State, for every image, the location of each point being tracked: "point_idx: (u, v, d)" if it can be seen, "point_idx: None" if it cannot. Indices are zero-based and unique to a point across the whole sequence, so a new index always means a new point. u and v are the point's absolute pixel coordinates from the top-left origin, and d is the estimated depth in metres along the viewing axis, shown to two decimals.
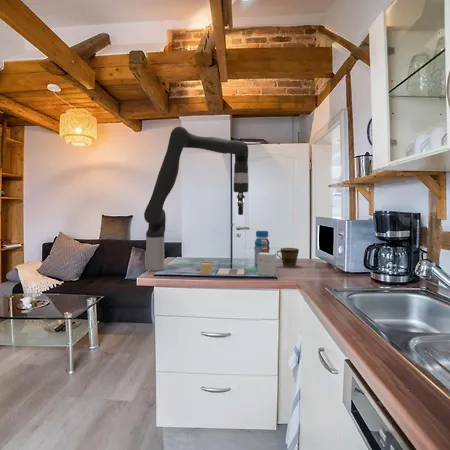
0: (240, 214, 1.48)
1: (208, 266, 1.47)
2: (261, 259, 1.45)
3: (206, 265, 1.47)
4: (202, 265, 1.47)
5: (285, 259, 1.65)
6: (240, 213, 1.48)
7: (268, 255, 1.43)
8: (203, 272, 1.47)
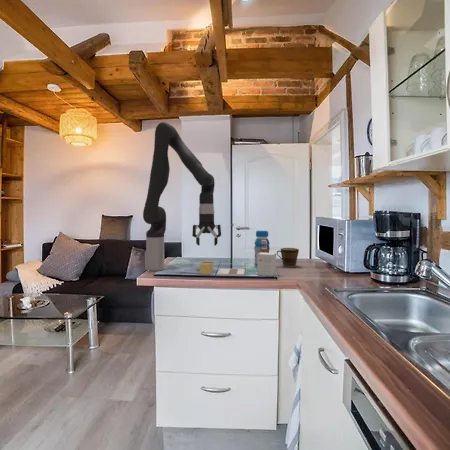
0: None
1: (207, 266, 1.47)
2: (261, 259, 1.45)
3: (205, 265, 1.47)
4: (201, 265, 1.47)
5: (285, 259, 1.65)
6: None
7: (268, 255, 1.43)
8: (202, 272, 1.47)
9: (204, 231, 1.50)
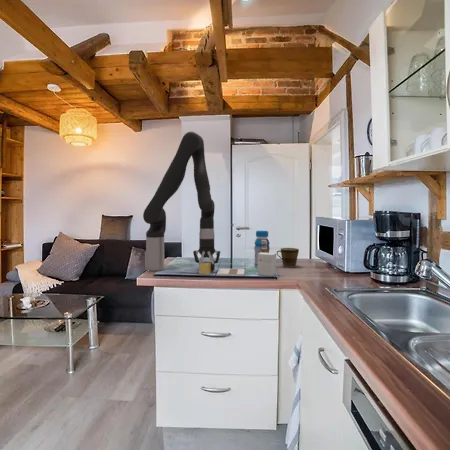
0: None
1: (206, 266, 1.47)
2: (261, 259, 1.45)
3: (204, 265, 1.47)
4: (200, 265, 1.48)
5: (285, 259, 1.65)
6: None
7: (268, 255, 1.43)
8: (201, 272, 1.48)
9: (205, 255, 1.50)
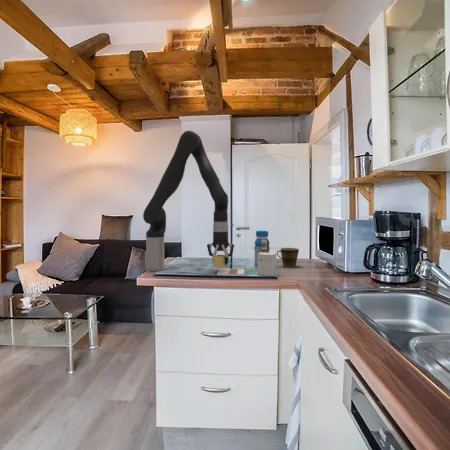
0: None
1: (220, 259, 1.46)
2: (261, 259, 1.45)
3: (218, 258, 1.46)
4: (214, 258, 1.47)
5: (285, 259, 1.65)
6: (227, 263, 1.50)
7: (268, 255, 1.43)
8: (215, 265, 1.47)
9: (219, 248, 1.49)
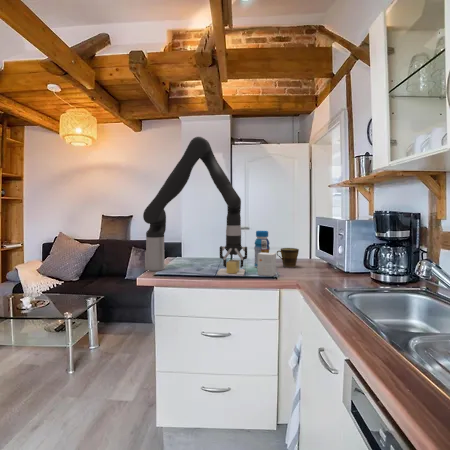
0: None
1: (234, 264, 1.45)
2: (261, 259, 1.45)
3: (232, 263, 1.46)
4: (228, 263, 1.46)
5: (285, 259, 1.65)
6: (242, 266, 1.50)
7: (268, 255, 1.43)
8: (229, 271, 1.46)
9: (231, 253, 1.49)
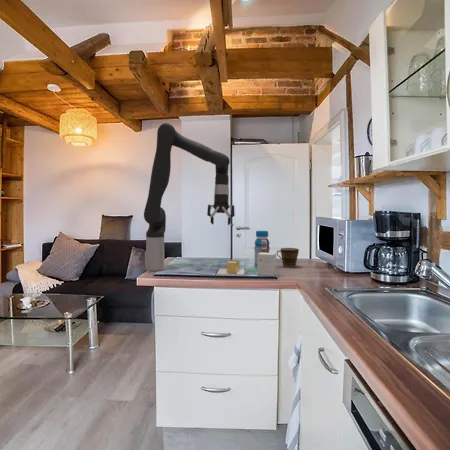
0: None
1: (234, 264, 1.45)
2: (261, 259, 1.45)
3: (232, 263, 1.46)
4: (228, 263, 1.46)
5: (285, 259, 1.65)
6: (230, 223, 1.58)
7: (268, 255, 1.43)
8: (229, 271, 1.46)
9: (218, 211, 1.57)
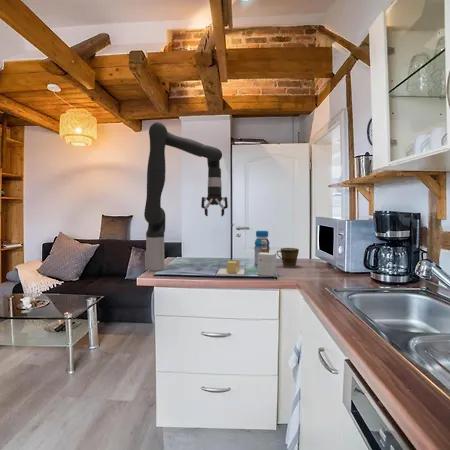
0: (222, 215, 1.64)
1: (234, 264, 1.45)
2: (261, 259, 1.45)
3: (232, 263, 1.46)
4: (228, 263, 1.46)
5: (285, 259, 1.65)
6: (223, 214, 1.64)
7: (268, 255, 1.43)
8: (229, 271, 1.46)
9: (212, 203, 1.63)
